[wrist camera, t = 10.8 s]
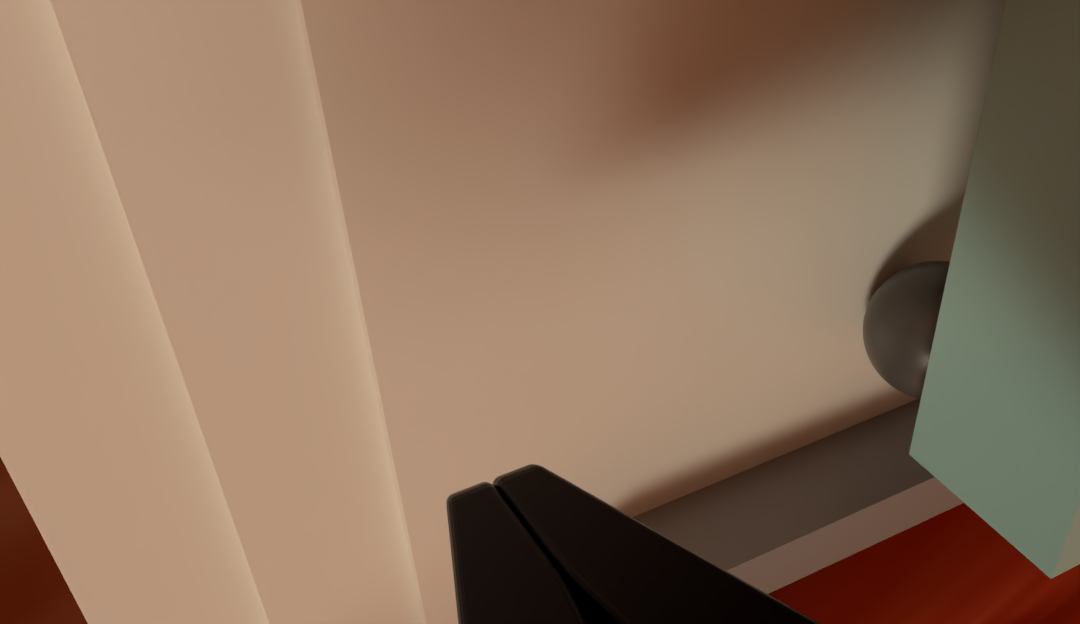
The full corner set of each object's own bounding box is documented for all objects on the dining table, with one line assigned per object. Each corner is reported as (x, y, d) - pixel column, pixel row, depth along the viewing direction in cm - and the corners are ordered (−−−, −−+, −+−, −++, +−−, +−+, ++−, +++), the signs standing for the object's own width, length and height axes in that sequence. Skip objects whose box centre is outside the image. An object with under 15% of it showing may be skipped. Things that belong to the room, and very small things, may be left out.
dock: (1202, 307, 21) (1315, 369, 20) (161, 752, 15) (189, 910, 13) (1556, -544, 13) (1802, -570, 11) (-464, -458, 6) (-633, -487, 4)
